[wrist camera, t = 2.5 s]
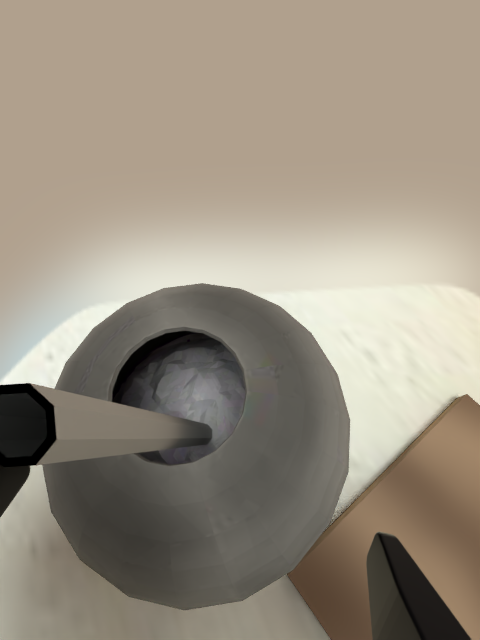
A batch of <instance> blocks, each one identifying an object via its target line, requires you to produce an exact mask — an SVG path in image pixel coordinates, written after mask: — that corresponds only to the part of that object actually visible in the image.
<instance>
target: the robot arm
mask: <svg viewBox="0 0 480 640" xmlns="http://www.w3.org/2000/svg"><path fill="white" fill-rule="evenodd" d="M29 473H30V466H16V467H3V466H2V465H1V464H0V517H1V516H2V514H3V513H4V511H5V510H6V509H7V507H8V506H9V504H10V503H11V501H12V500H13V499H14V497H15V496H16V494H17V493H18V492H19V490H20V489H21V487H22V486H23V484H24V483H25V482H26V480H27V478H28V476H29ZM366 568H367V580H368V592H369V604H370V616H371V628H372V639H373V640H472V639H471V638H470V636H469V635H468V634H467V632H466V631H465V629H464V628H463V627H462V625H461V624H460V623H459V621H458V620H457V619H456V617H455V616H454V614H453V613H452V612H451V610H450V609H449V608H448V606H447V605H446V603H445V602H444V601H443V599H442V598H441V597H440V595H439V594H438V593H437V591H436V590H435V588H434V587H433V586H432V584H431V583H430V582H429V580H428V579H427V577H426V576H425V575H424V573H423V572H422V571H421V569H420V568H419V567H418V565H417V564H416V562H415V561H414V560H413V558H412V557H411V556H410V554H409V553H408V551H407V550H406V549H405V547H404V546H403V545H402V543H401V542H400V541H399V539H398V538H397V537H396V536H394V535H392V534H388V533H384V532H377V533H376V534H375V536H374V538H373V541H372V543H371V546H370V549H369V551H368V554H367V560H366Z"/></svg>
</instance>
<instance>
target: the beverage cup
mask: <svg viewBox="0 0 480 640" xmlns="http://www.w3.org/2000/svg"><path fill="white" fill-rule="evenodd" d="M349 437H350V418H349V414H348V411H347V407H346V404H345V400H344V396H343V393H342V389H341V386H340V382H339V378H338V375H337V373H336V371H335V370H334V368H333V366H332V365H331V363H330V362H329V360H328V359H327V357H326V355H325V354H324V352H323V351H322V349H321V348H320V346H319V344H318V343H317V341H316V340H315V338H314V337H313V335H312V333H311V332H309V331H308V330H307V329H306V328H305V327H304V326H302V325H301V324H300V323H299V322H298V321H297V320H295V319H294V318H293V317H292V316H291V315H290V314H288V313H287V312H286V311H285V310H284V309H283V308H281V307H280V306H278V305H276V304H274V303H272V302H269V301H267V300H265V299H263V298H260V297H258V296H256V295H254V294H251V293H249V292H247V291H244V290H242V289H238V288H231V287H224V286H217V285H210V284H203V283H202V284H194V285H186V286H178V287H170V288H163V289H161V290H159V291H156V292H153V293H151V294H149V295H146V296H144V297H141V298H139V299H136V300H134V301H131V302H129V303H127V304H125V305H124V306H123V307H121V308H120V309H119V310H117V311H116V312H115V313H113V314H112V315H111V316H109V317H108V318H106V319H105V320H104V321H102V322H101V323H100V324H98V325H97V326H96V327H94V328H93V329H92V331H91V332H90V333H89V334H88V336H87V337H86V338H85V339H84V341H83V342H82V343H81V344H80V346H79V347H78V348H77V349H76V351H75V352H74V353H73V354H72V356H71V357H70V358H69V359H68V361H67V362H66V364H65V366H64V368H63V371H62V373H61V375H60V377H59V380H58V382H57V384H56V387H55V389H52V388H48V387H44V386H39V385H35V384H31V383H26V384H11V385H0V464H1V465H2V466H3V467H16V466H31V465H42V466H43V471H44V476H45V482H46V487H47V492H48V497H49V503H50V508H51V512H52V514H53V515H54V517H55V519H56V520H57V522H58V524H59V526H60V527H61V529H62V531H63V532H64V534H65V536H66V537H67V539H68V541H69V542H70V544H71V546H72V547H73V549H74V551H75V552H76V554H77V556H78V557H79V559H80V560H81V561H83V562H84V563H85V564H86V565H88V566H89V567H90V568H92V569H93V570H94V571H96V572H97V573H98V574H100V575H101V576H102V577H103V578H105V579H106V580H107V581H109V582H110V583H111V584H113V585H114V586H115V587H117V588H118V589H119V590H121V591H122V592H123V593H125V594H126V595H127V596H129V597H132V598H137V599H141V600H145V601H149V602H153V603H157V604H161V605H165V606H169V607H173V608H177V609H181V610H189V609H195V608H201V607H207V606H213V605H219V604H225V603H231V602H237V601H243V600H244V599H246V598H248V597H249V596H251V595H253V594H254V593H256V592H257V591H259V590H261V589H262V588H264V587H266V586H267V585H269V584H271V583H272V582H274V581H276V580H277V579H279V578H280V577H282V576H284V575H285V574H287V573H289V572H290V571H292V570H293V569H294V568H295V567H296V566H297V564H298V563H299V562H300V561H301V559H302V558H303V557H304V556H305V554H306V553H307V552H308V551H309V549H310V548H311V547H312V546H313V544H314V543H315V542H316V541H317V539H318V538H319V537H320V535H321V534H322V533H323V532H324V530H325V529H326V528H327V527H328V525H329V524H330V522H331V519H332V516H333V513H334V510H335V508H336V505H337V502H338V499H339V496H340V494H341V491H342V488H343V485H344V482H345V480H346V477H347V474H348V468H349Z"/></svg>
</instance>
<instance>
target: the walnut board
mask: <svg viewBox="0 0 480 640" xmlns="http://www.w3.org/2000/svg"><path fill="white" fill-rule="evenodd" d="M377 532H384V533H388V534H392V535H394V536H396V537H397V538H398V539H399V541H400V542H401V543H402V545H403V546H404V547H405V549H406V550H407V551H408V553H409V554H410V556H411V557H412V558H413V560H414V561H415V562H416V564H417V565H418V567H419V568H420V569H421V571H422V572H423V573H424V575H425V576H426V577H427V579H428V580H429V582H430V583H431V584H432V586H433V587H434V588H435V590H436V591H437V593H438V594H439V595H440V597H441V598H442V599H443V601H444V602H445V603H446V605H447V606H448V608H449V609H450V610H451V612H452V613H453V614H454V616H455V617H456V619H457V620H458V621H459V623H460V624H461V625H462V627H463V628H464V629H465V631H466V632H467V634H468V635H469V636H470V638H471V639H472V640H480V405H479V404H477V403H476V402H475V401H474V400H473V399H472V398H471V397H470V396H469V395H468V394H466V395H463V396H461V397H458V398H457V399H456V400H455V401H454V402H453V403H452V404H451V405H450V406H449V407H448V408H447V409H446V410H445V411H444V412H443V413H442V414H441V415H440V416H439V417H438V418H437V419H436V420H435V421H434V422H433V423H432V424H431V425H430V426H429V427H428V428H427V429H426V430H425V431H424V432H423V433H422V434H421V435H420V436H419V437H418V438H417V439H416V440H415V441H414V442H413V443H412V444H411V445H410V446H409V447H408V448H407V449H406V450H405V451H404V452H403V453H402V454H401V455H400V456H399V457H398V458H397V459H396V460H395V461H394V462H393V463H392V464H391V465H390V466H389V467H388V468H387V469H386V470H385V471H384V472H383V473H382V474H381V475H380V476H379V477H378V478H377V479H376V480H375V481H374V482H373V483H372V484H371V485H370V486H369V487H368V488H367V489H366V490H365V491H364V492H363V493H362V494H361V495H360V496H359V497H358V498H357V499H356V500H355V501H354V502H353V503H352V505H351V506H350V507H349V508H348V509H347V510H346V511H345V512H344V513H343V514H342V515H341V516H340V517H339V518H338V519H337V520H336V521H335V522H334V523H333V524H332V525H331V526H330V527H329V528H328V529H327V530H326V531H325V532H324V533H323V534H322V535H321V536H320V537H319V538H318V539H317V541H316V542H315V543H314V544H313V546H312V547H311V548H310V549H309V551H308V552H307V553H306V554H305V556H304V557H303V558H302V559H301V561H300V562H299V563H298V564H297V566H296V567H295V568H294V569H293V570H292V571H290V572H289V573H287V575H288V577H289V578H290V580H291V581H292V583H293V584H294V586H295V587H296V589H297V590H298V592H299V593H300V594H301V596H302V597H303V599H304V600H305V602H306V603H307V605H308V606H309V608H310V609H311V611H312V612H313V614H314V615H315V616H316V618H317V619H318V621H319V622H320V624H321V625H322V627H323V628H324V630H325V631H326V633H327V634H328V636H329V637H330V638H331V640H373V639H372V628H371V616H370V604H369V592H368V580H367V568H366V560H367V554H368V551H369V549H370V546H371V543H372V541H373V538H374V536H375V534H376V533H377Z"/></svg>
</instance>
